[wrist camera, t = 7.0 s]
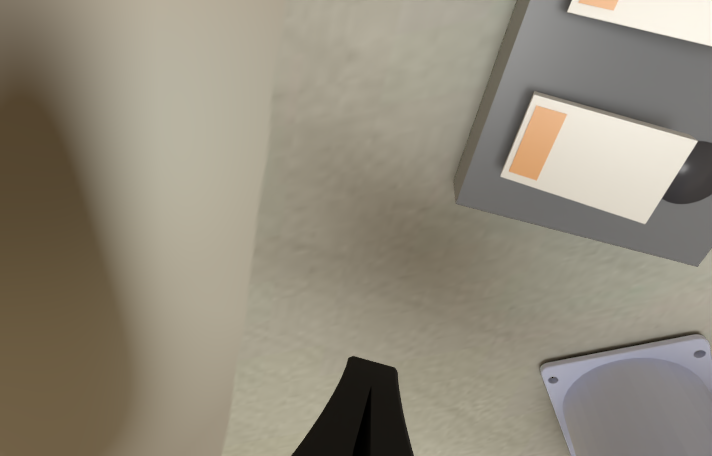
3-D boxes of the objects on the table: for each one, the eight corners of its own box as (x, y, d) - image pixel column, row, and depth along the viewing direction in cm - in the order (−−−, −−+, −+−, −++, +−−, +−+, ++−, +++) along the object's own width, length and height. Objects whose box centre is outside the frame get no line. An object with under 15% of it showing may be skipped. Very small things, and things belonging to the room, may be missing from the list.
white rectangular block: (640, 215, 15) (645, 225, 15) (501, 170, 16) (500, 177, 16) (690, 134, 14) (698, 141, 13) (534, 90, 15) (534, 94, 14)
